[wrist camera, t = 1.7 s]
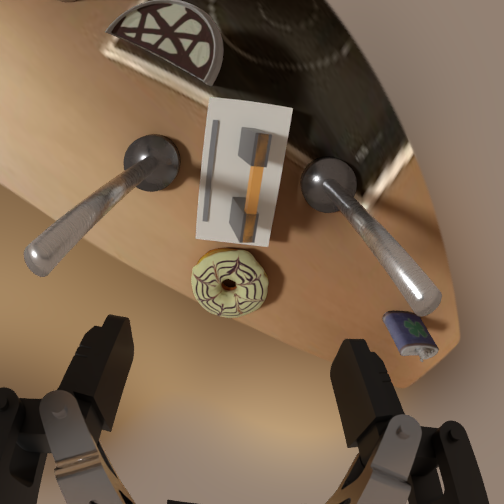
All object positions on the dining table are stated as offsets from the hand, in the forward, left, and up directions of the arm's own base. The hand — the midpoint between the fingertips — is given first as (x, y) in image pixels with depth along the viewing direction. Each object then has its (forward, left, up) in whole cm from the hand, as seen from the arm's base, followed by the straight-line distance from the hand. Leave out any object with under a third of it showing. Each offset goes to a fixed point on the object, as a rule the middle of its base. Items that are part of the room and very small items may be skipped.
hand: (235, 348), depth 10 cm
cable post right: (+11, 0, -28) cm, 30 cm away
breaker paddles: (0, 0, -25) cm, 25 cm away
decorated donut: (0, -16, -29) cm, 33 cm away
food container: (-8, +15, -28) cm, 33 cm away
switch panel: (0, 0, -28) cm, 28 cm away
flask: (+32, -21, -28) cm, 48 cm away
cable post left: (-11, 0, -28) cm, 30 cm away
